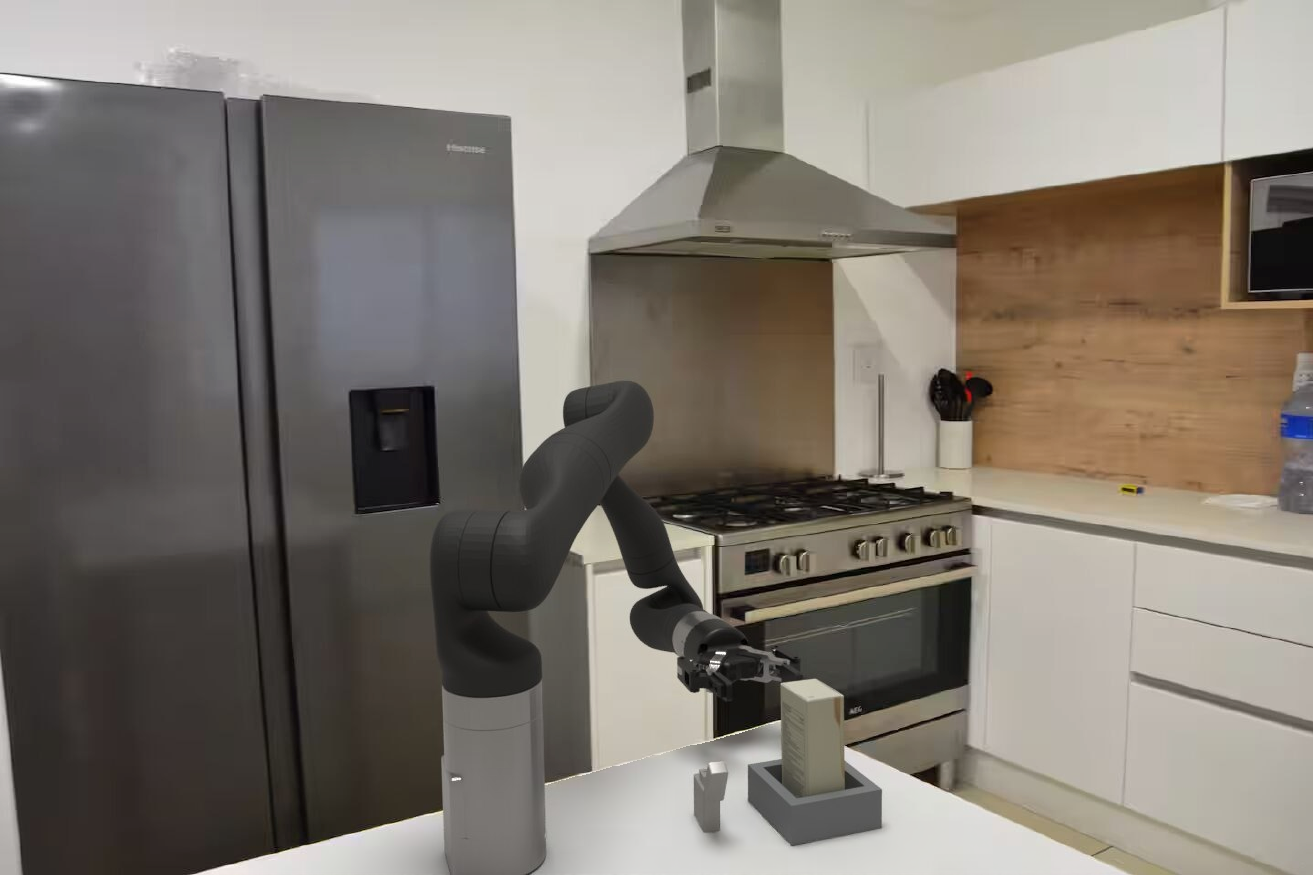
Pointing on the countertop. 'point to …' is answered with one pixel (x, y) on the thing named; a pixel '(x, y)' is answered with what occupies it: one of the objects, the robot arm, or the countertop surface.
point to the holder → (814, 805)
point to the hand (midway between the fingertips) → (764, 687)
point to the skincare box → (812, 738)
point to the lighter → (709, 795)
